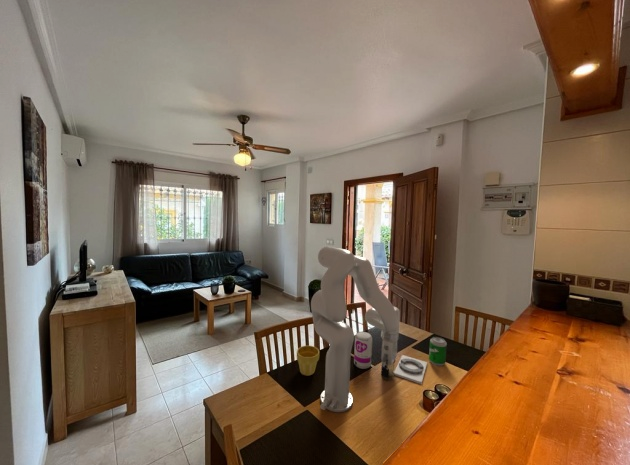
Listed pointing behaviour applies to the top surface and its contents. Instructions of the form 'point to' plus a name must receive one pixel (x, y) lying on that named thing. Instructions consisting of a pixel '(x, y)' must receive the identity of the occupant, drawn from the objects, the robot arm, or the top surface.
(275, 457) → the top surface
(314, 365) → the plant pot
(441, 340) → the soda can
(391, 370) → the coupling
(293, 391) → the top surface
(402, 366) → the socket board
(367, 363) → the supplement can
